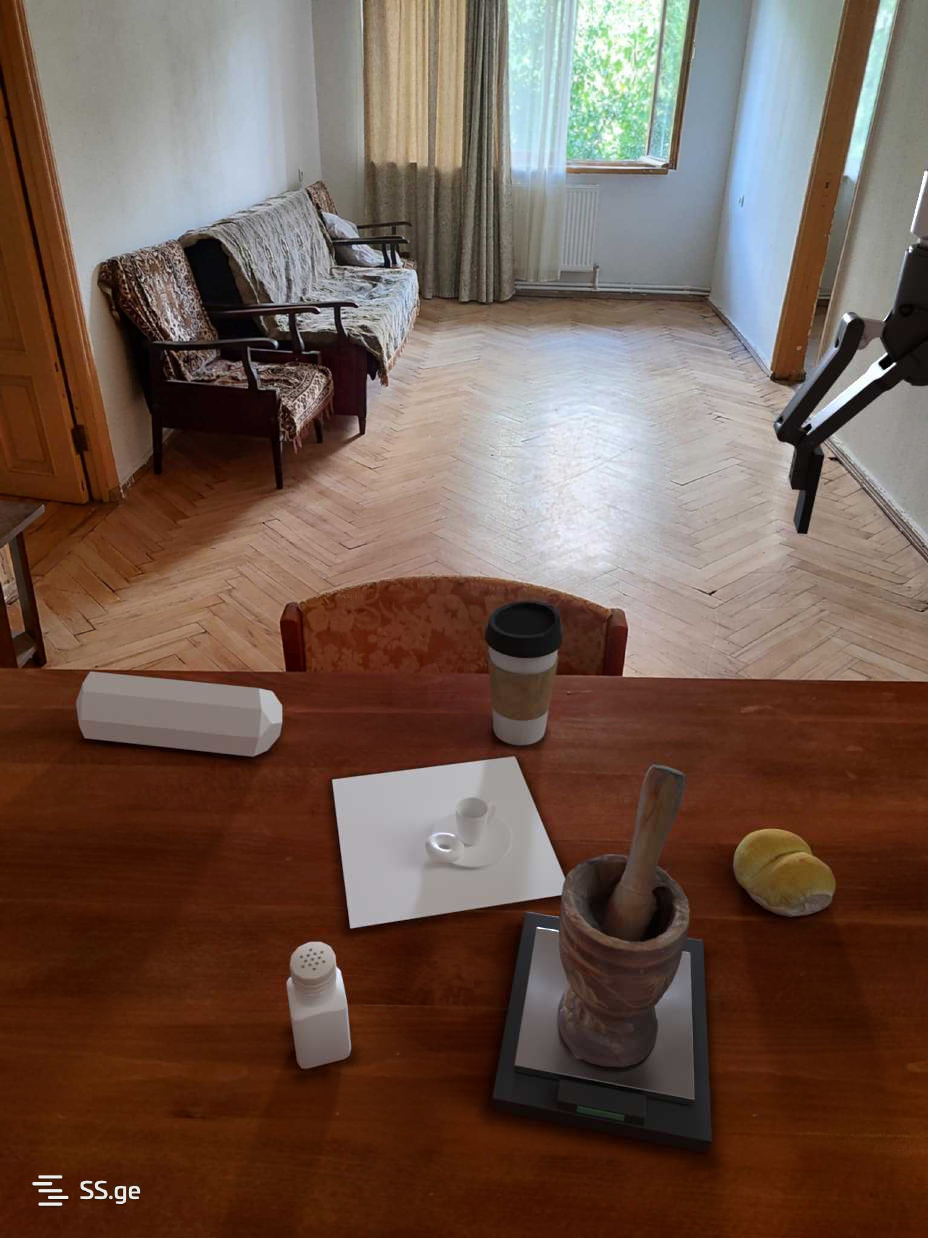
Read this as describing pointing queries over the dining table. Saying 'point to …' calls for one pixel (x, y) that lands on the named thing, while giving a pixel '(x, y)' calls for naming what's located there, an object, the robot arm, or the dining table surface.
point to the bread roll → (783, 873)
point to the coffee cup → (522, 668)
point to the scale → (596, 1103)
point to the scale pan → (550, 1057)
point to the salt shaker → (318, 1006)
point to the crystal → (178, 714)
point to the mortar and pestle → (623, 936)
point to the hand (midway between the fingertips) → (889, 535)
